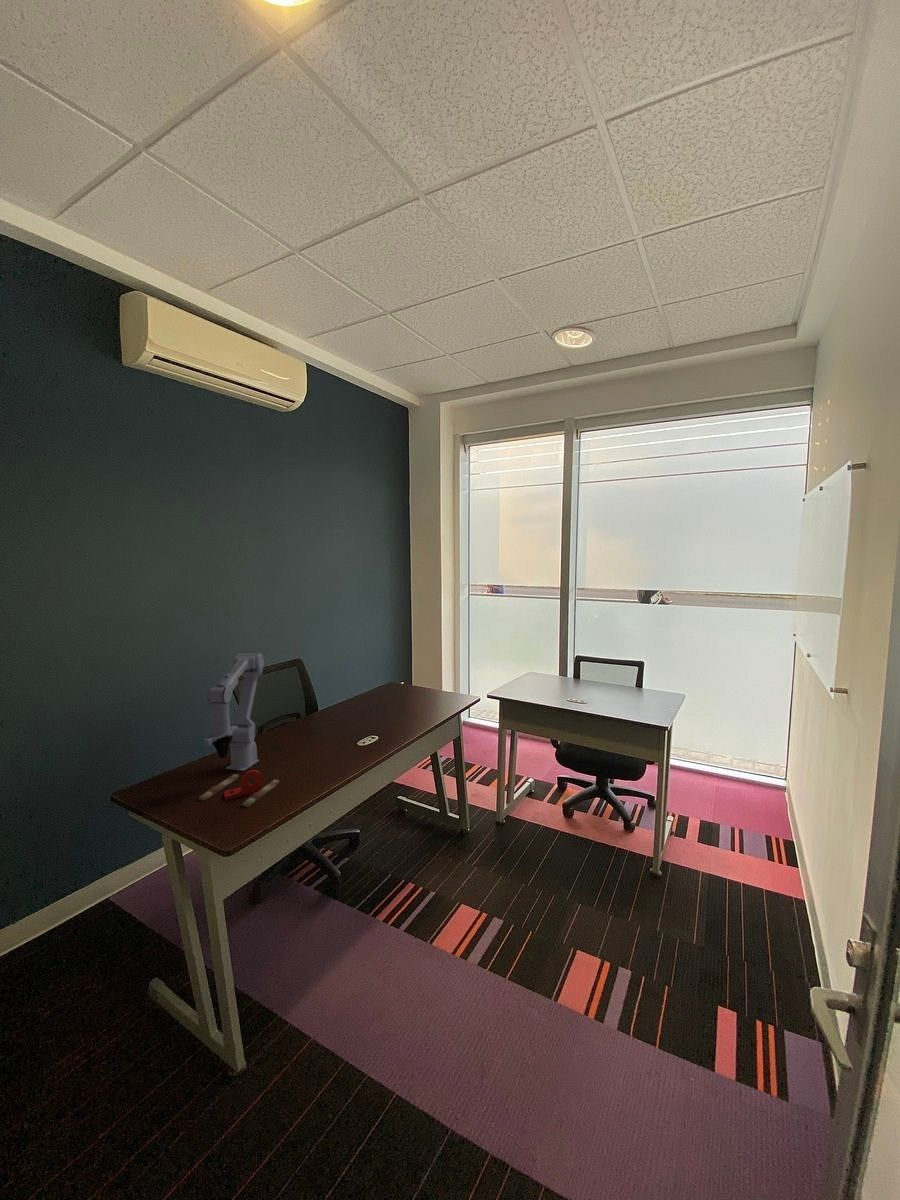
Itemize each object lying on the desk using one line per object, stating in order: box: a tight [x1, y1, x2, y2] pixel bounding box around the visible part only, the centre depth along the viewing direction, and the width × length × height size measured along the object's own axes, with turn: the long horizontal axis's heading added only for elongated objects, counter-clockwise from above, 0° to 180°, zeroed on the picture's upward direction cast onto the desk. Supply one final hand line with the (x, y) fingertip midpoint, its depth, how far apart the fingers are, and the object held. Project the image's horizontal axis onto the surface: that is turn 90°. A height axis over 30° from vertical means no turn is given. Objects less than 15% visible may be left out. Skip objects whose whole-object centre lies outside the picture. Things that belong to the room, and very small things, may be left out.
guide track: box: [198, 773, 280, 808], centre depth 168 cm, size 17×19×1 cm
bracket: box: [223, 769, 264, 801], centre depth 167 cm, size 12×4×8 cm, turn 120°
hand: (222, 757), depth 174 cm, fingers closed
